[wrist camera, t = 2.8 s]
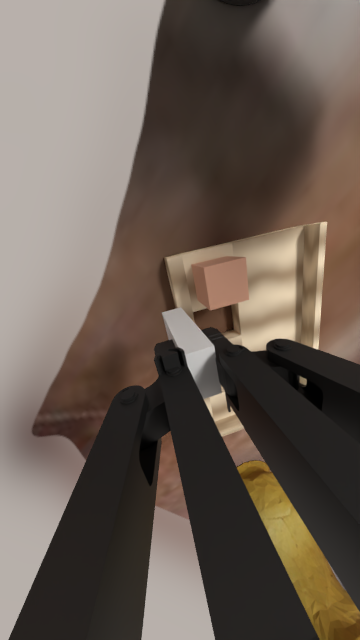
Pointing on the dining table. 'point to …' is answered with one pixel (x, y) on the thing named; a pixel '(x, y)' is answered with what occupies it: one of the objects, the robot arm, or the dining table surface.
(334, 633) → the pitcher
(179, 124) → the dining table surface
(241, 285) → the salmon block
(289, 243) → the cube sorting tray
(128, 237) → the dining table surface
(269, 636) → the robot arm
